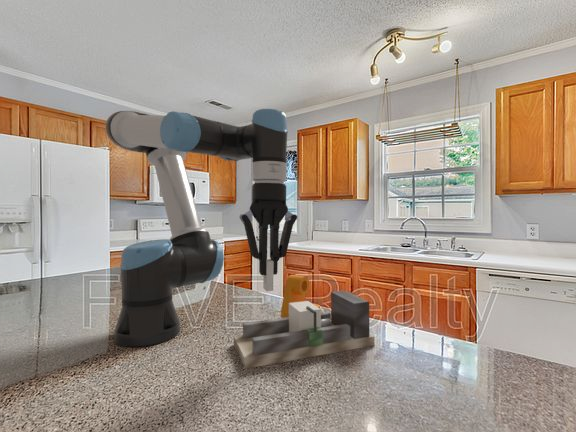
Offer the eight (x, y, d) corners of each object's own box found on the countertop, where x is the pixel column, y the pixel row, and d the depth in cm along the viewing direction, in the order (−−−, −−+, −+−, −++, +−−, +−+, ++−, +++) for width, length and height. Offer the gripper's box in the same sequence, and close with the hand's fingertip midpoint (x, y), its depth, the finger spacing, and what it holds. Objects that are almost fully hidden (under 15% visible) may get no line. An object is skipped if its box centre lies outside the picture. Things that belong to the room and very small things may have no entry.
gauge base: (245, 369, 62) (244, 318, 62) (233, 344, 74) (233, 301, 73) (374, 345, 73) (374, 301, 72) (347, 327, 84) (347, 289, 84)
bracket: (303, 325, 86) (302, 281, 86) (280, 320, 90) (280, 278, 90) (321, 314, 95) (321, 274, 95) (300, 310, 99) (300, 271, 99)
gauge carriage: (304, 347, 67) (304, 313, 66) (288, 331, 76) (288, 301, 75) (342, 341, 70) (342, 308, 70) (323, 326, 79) (322, 297, 78)
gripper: (243, 180, 64) (243, 296, 65) (303, 182, 69) (301, 291, 69) (236, 182, 71) (235, 287, 72) (290, 184, 76) (289, 283, 76)
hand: (268, 289), depth 71 cm, fingers closed
